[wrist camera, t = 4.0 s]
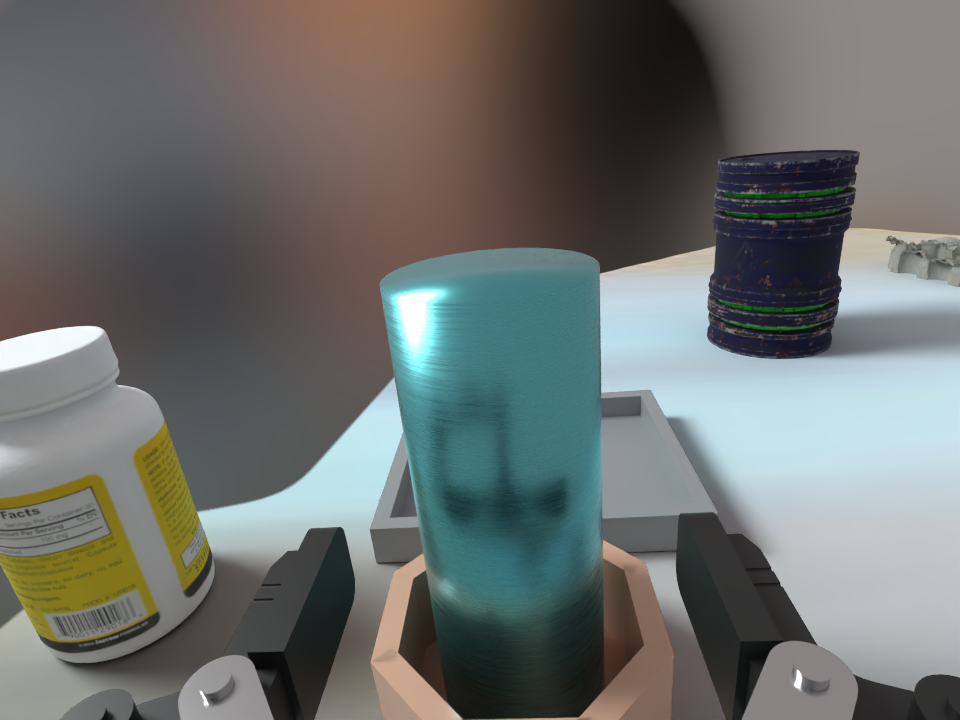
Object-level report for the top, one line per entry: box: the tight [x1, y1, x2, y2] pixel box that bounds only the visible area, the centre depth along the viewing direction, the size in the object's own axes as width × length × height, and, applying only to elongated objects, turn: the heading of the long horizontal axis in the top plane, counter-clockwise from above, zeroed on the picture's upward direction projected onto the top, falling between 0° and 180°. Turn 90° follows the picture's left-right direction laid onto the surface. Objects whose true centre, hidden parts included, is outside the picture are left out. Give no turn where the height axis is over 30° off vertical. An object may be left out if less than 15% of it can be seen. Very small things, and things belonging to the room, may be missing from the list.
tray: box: [370, 390, 718, 563], centre depth 32 cm, size 16×13×2 cm
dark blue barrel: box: [707, 150, 860, 359], centre depth 46 cm, size 10×10×15 cm
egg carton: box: [886, 236, 960, 287], centre depth 60 cm, size 11×8×4 cm
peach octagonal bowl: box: [370, 540, 674, 720], centre depth 20 cm, size 9×9×4 cm
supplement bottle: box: [0, 326, 215, 663], centre depth 24 cm, size 7×7×13 cm
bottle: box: [380, 248, 605, 720], centre depth 17 cm, size 6×6×15 cm
